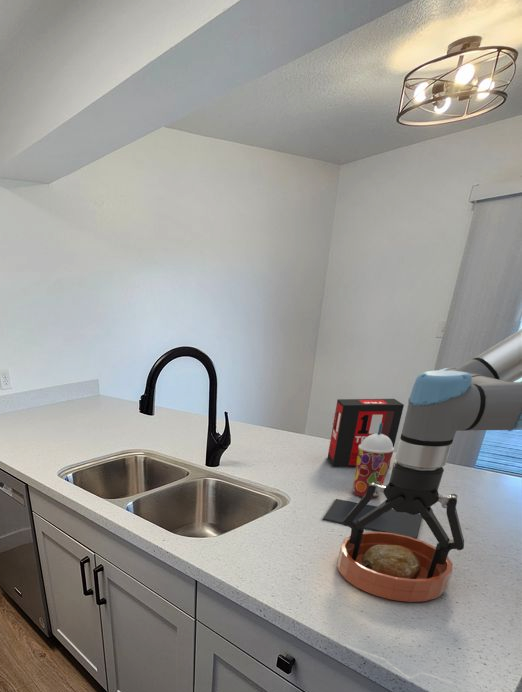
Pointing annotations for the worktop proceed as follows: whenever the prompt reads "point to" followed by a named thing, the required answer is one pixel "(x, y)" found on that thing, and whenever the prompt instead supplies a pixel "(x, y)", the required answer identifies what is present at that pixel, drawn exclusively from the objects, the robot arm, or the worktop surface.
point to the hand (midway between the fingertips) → (390, 566)
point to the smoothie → (372, 461)
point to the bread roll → (392, 561)
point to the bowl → (389, 584)
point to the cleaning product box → (361, 426)
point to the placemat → (383, 523)
